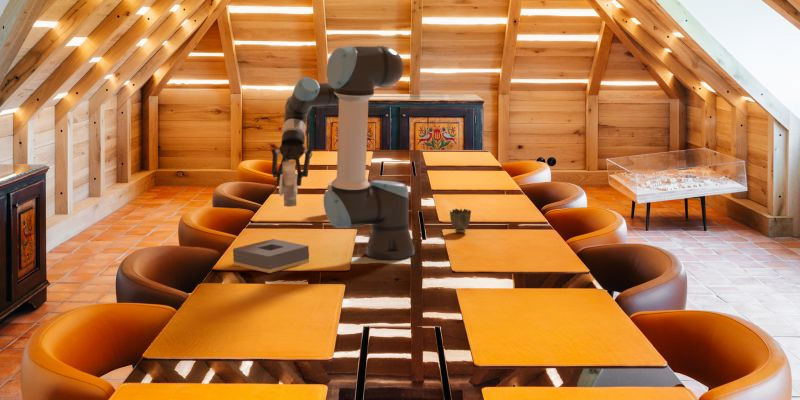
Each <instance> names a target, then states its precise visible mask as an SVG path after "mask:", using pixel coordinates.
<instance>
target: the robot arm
mask: <svg viewBox="0 0 800 400" xmlns="http://www.w3.org/2000/svg"><path fill="white" fill-rule="evenodd" d="M404 67H405V66H404V61H403V59H402V57H401V55H400V54H399V53H398V52H397V51H396V50H394V49H393V48H391V47H388V46H384V45H383V46H381V45H378V46H376V45H375V46H372V45H371V46H362V45H361V46H357V45H355V46H354V45H353V46H352V45H348V46H342V47H341V46H340V47H337V48H336V49H334V50H333V51H332V52H331V54H330V56H329V58H328V61H327V65H326V78H327V82H324V83H323V82H318V81H317V80H316V79H314V78H310V77H308V76H303V77H301V78H299V80H298V81H297V82H296V85H295V86H294V89H293V92H292V95H290V96H289V97H288V98H287V99H286V101H285V105H284V118H283V125H282V133H281V134H282V135H281V142H280V143H281V144H280V145H279V148H277V149H274V148H273V149H271V150H270V152H271V155H272V161H271V162H272V164H271V173H272V174H271V175H272V177H273V178H276V181H275V182H276V185H277V187H278V194H279V197H283V195H284V193H283V170H282V162H288V161H292V160H293V161H294V162H295V168H296V173H295V179H294V189H293V191H294V196H296V197H297V196H298V188H299V187H301V185H302V178H308V176H309V170H310V162H311V161H310V160H311V158H312V156H313V150H312V148H308V149H307V148H306V147H305V142H306V141H305V140H306V138H305V137H306V128H307V119H308V115H309V113H310V111H311V110H312V108H313V107H325V106H326V107H327V106H338V119H337V120H338V123H337V124H338V126H337V127H338V129H337V156H336V157H337V160H336V161H337V162H336V178H335V179H333V180H332V181H331V183H332V186H331V190H328V189H327V191H325V193H324V195H323V200H322V201H323V207H324V211H325V216H326V217H327V219H328V221H329V223H330V224H331V226H333V227H334V228H336V229H337V228H338V229H344V228H346V229H350V228H354V227H355V228H356V227H363V226H368V225H371V232H370V235H369V239H368V240H367V241H368V242H367V245H366V248H365V249H366V250H365V251H366V256H367V257H369V258H371V259H374V260H375V259H376V260H382V261H383V260H385V261H386V260H387V261H388V260H392V261H394V260H402V259H408V258H411V257H413V256H414V255H415V245H414V244H413V240H412V236H411V234H410V230H409V199H410V197H409V188H408V186H407V185H406V184H405V183H403V182H399V181H392V180H378V179H377V180H375V179H374V180H371V181H370V182H369V181H368V179H366V172H367V170H366V169H367V168H366V167H367V146H368V145H367V144H368V123H369V122H368V120H369V119H368V118H369V117H368V116H369V100H370V99H371V98H372V97H373V96H374V94H375V90H376V89H378V88H389V87H390V86H393V85H396V83H398V82H399V81H400V80H401V78H403V77H402V76H403V75H404V69H405V68H404ZM280 154H281V155H282V158H281V161H280V164H279V167H278V162H279V161H278V160H279V159H278V158H279V156H280ZM303 154H304V162H303V168H301V167H302V166H301V162H300V158H301V157H302V155H303Z"/></svg>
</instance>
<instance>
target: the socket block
mask: <svg viewBox="0 0 800 400" xmlns="http://www.w3.org/2000/svg"><path fill="white" fill-rule="evenodd" d="M309 251H310V250H309V245H305V244H300V243H296V242H291V241H285V240H280V239H275V238H271V239H267V240H263V241H259V242H254V243H251V244H247V245H243V246H242V245H241V246H240V247H234V248H232V253H233V254H232V256H233V265H234V266H238V267H241V268H245V269H246V268H247V269H251V270H255V271H259V272H263V273H268V274H271V273H274V272H279V271H281V270H285V269H289V268H293V267H295V266H299V265H303V264H306V263H309V262H310V255H309V254H310V252H309Z"/></svg>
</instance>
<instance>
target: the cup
mask: <svg viewBox="0 0 800 400" xmlns="http://www.w3.org/2000/svg"><path fill="white" fill-rule="evenodd" d="M471 214H472V210H470V209H466V208H464V209H462V208H460V209H458V208H455V209H452V211H451V210H449V216H450V224H451V226H452V227H453V228H454V231H455V233H456V234H459V235H460V234H461V235H462V234H465V233H466V231H467V230H466V229H467V228H468V227H469V226H470V223H471Z"/></svg>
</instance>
